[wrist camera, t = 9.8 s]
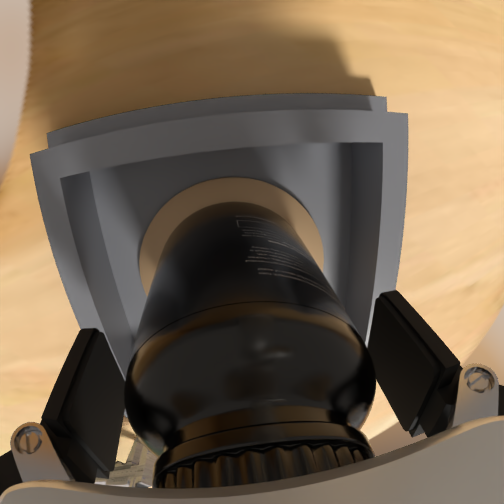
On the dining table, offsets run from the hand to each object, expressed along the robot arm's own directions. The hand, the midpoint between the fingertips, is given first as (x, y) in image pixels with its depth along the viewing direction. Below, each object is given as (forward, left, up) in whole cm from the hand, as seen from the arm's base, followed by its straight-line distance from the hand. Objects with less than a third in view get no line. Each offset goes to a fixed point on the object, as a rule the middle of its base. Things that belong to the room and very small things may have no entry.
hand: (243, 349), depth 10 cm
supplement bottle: (0, 0, -6) cm, 6 cm away
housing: (0, 0, -7) cm, 7 cm away
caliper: (+21, -16, -7) cm, 28 cm away
